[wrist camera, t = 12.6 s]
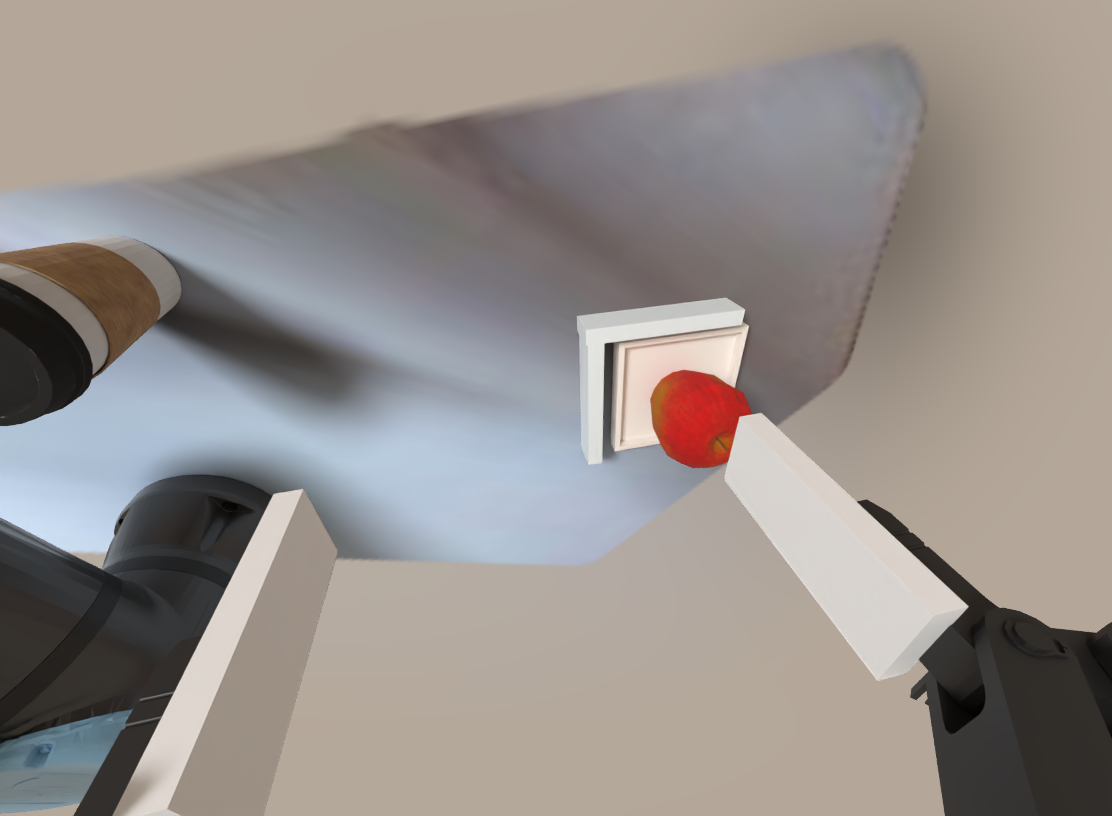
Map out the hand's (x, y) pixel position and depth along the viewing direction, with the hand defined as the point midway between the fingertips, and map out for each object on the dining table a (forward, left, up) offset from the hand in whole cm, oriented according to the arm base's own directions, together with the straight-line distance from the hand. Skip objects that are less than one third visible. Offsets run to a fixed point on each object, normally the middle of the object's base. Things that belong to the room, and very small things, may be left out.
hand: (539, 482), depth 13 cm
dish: (+19, -16, -29) cm, 38 cm away
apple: (+19, -16, -28) cm, 38 cm away
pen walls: (+16, -15, -29) cm, 36 cm away
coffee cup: (-27, +1, -29) cm, 40 cm away
